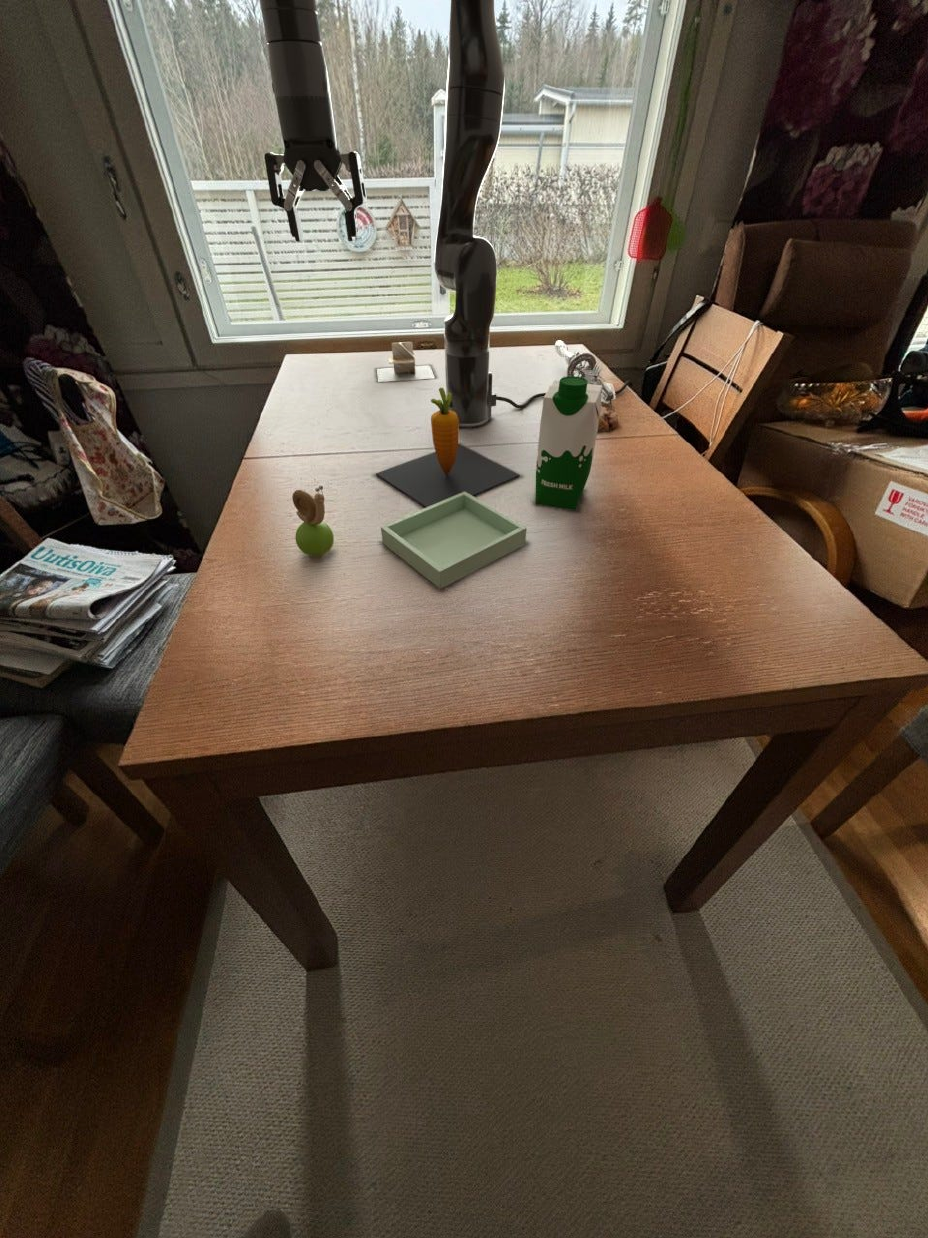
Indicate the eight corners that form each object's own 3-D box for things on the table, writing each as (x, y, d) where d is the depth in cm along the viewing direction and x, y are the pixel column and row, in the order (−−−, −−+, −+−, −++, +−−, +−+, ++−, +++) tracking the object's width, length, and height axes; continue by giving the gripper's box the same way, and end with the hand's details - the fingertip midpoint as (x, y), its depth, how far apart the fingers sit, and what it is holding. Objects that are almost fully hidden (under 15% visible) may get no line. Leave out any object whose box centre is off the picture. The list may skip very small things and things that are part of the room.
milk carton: (529, 506, 86) (539, 382, 72) (540, 481, 92) (552, 363, 78) (580, 514, 83) (601, 389, 70) (588, 489, 90) (610, 369, 76)
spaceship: (574, 332, 137) (550, 322, 133) (634, 389, 114) (608, 378, 111) (559, 361, 142) (536, 352, 138) (614, 421, 119) (588, 412, 116)
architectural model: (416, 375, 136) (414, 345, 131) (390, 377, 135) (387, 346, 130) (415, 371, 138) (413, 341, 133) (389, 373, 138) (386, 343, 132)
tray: (464, 507, 86) (464, 491, 84) (525, 544, 77) (526, 527, 75) (382, 543, 78) (380, 526, 76) (440, 589, 70) (439, 571, 68)
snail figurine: (323, 570, 73) (305, 496, 65) (292, 556, 76) (270, 483, 67) (349, 551, 76) (334, 478, 68) (318, 539, 79) (300, 467, 71)
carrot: (457, 481, 91) (455, 396, 81) (430, 479, 92) (425, 394, 82) (462, 468, 95) (461, 385, 85) (437, 466, 96) (433, 384, 85)
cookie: (582, 411, 116) (584, 397, 114) (625, 421, 112) (628, 407, 110) (562, 425, 111) (564, 411, 108) (607, 436, 106) (610, 422, 104)
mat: (458, 445, 104) (458, 443, 103) (519, 476, 93) (519, 474, 93) (376, 475, 94) (375, 473, 94) (434, 513, 84) (433, 511, 84)
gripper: (359, 95, 71) (374, 237, 82) (263, 97, 72) (290, 237, 83) (346, 90, 66) (364, 244, 77) (241, 93, 67) (274, 244, 78)
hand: (325, 240), depth 80 cm, fingers open, 8 cm apart
